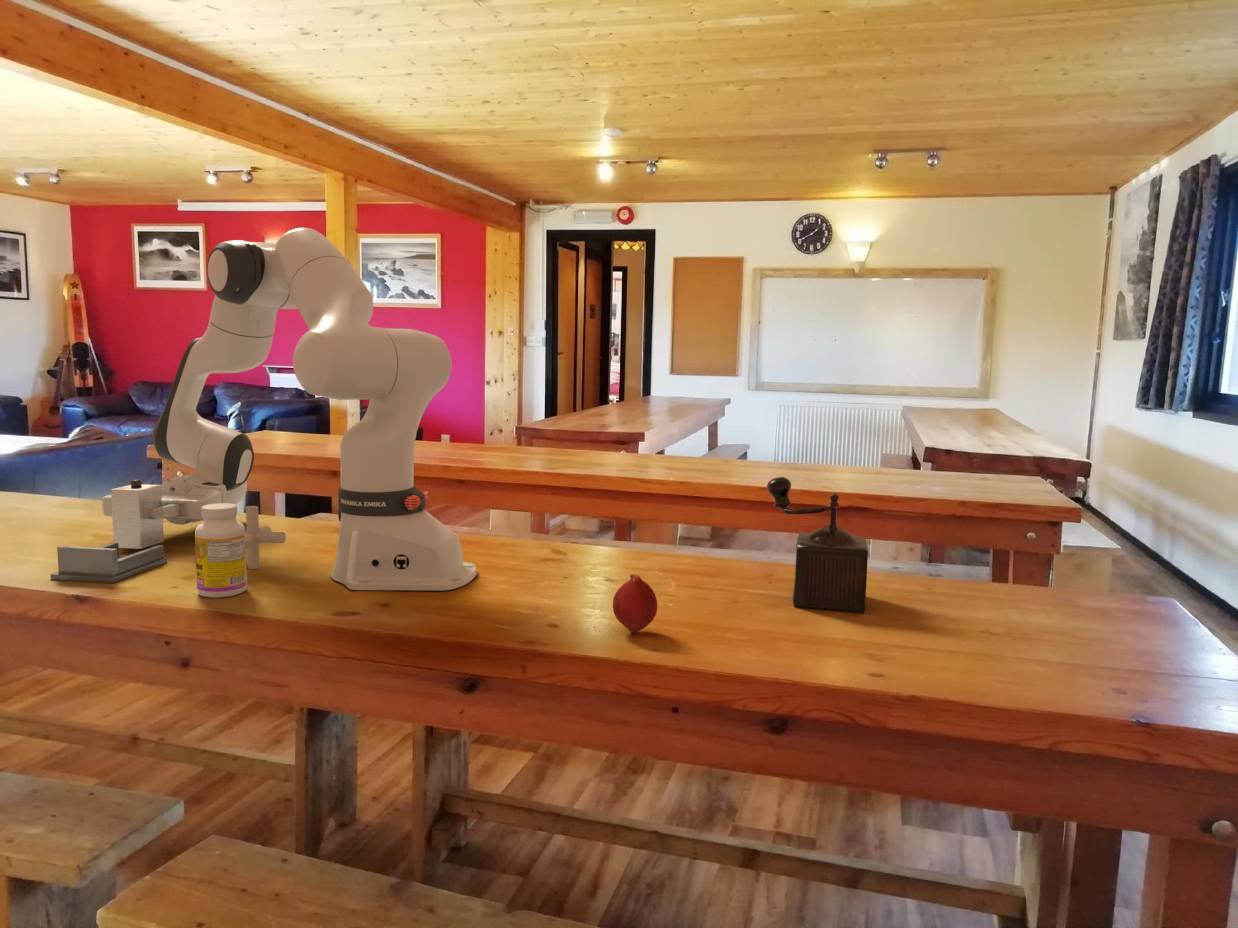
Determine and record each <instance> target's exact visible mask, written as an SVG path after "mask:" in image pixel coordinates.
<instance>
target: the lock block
mask: <svg viewBox="0 0 1238 928" xmlns="http://www.w3.org/2000/svg"><path fill="white" fill-rule="evenodd" d="M161 485H162V484H142V479H131V480H130V484H129V485H123V486H119V487H114V488H111V489H110V495H111V501H112V516H111V517H112V531H113V533H112V534H113V543H118V547H119V549H120V548H121V549H122V548H123V549H136V550H142V549H143V550H144V549H146V548H148V547H151V546H155V545H156V544H157V545H158V544H159V543H163V542H165V534H164V533H165V532H164V519H163V518H160V519H149V518H148V515H149V514H148V510H149V509H150V508H154V507H162V491H161Z"/></svg>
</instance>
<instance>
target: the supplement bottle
mask: <svg viewBox="0 0 1238 928" xmlns="http://www.w3.org/2000/svg"><path fill="white" fill-rule="evenodd" d="M201 515H202V516H203V518H204V520H203V522H201V523H199V524H198V525H197V526H196V528H195V530H194V540H195V541H194V542H195V544H194V546H195V548H194V549H195V569H196V570H195V572H196V573H195V574H196V575H195V577H196V590H197V593H198V594H199V595H200V596H201V597H204V598H210V599H211V598H212V599H215V598H216V599H218V598H229V597H234V596H238V595H240V594H242V593H244V592H245V591H246V590H247V586H248V573H247V572H248V571H247V547H246V544H245V531H246V527H245V525H244V524H243V523H242V522H241V521H239V520H237V516H238V504H231V503H218V504H209V505H205V506H202V507H201Z"/></svg>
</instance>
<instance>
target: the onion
mask: <svg viewBox="0 0 1238 928" xmlns="http://www.w3.org/2000/svg"><path fill="white" fill-rule="evenodd" d="M629 577H630V579H629V580H628V581H626V582H625V583H623V584H622V585H621V586H620V587H619V588H618V589H617V591H616V592H615V594H614V597H613V598H612V599H613V600H612V609H613V614H614V616H615V618H616V620H617V622H619V623H620V624H621V625H622V626H624V627H625V628H626V629H627V630H628V631H629V632H630V633H632V634H637V633H639V632H640V631H641V630H643V629H645V628H646V627H648V626H649V625H650V624H651V623H652V621H654V619H655V617H656V616H657V613H658V608H659V607H658V600H657V599H658V598H657V596H656V593H655V591H654V590H653V588H652V587H651V586H650V585H649V584H648V583H647V582H646V581H644V580H643V579H642V578H641V577H640V575H639V574H637V573H631V574H630V575H629Z"/></svg>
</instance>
